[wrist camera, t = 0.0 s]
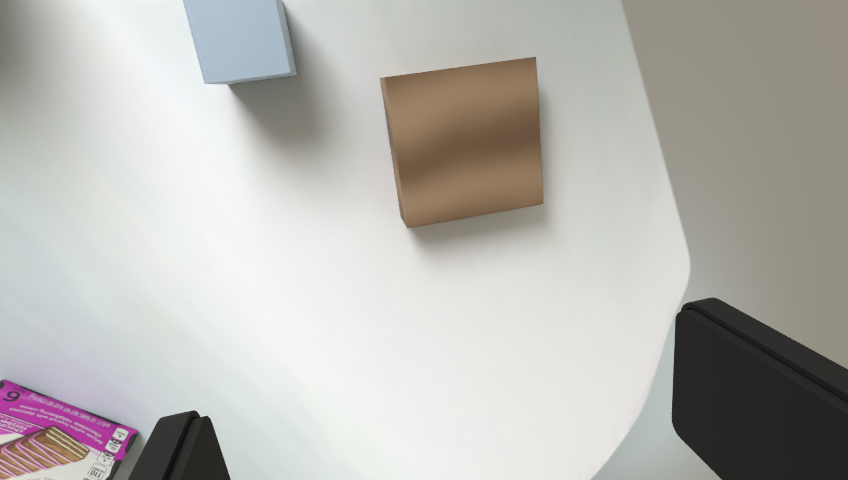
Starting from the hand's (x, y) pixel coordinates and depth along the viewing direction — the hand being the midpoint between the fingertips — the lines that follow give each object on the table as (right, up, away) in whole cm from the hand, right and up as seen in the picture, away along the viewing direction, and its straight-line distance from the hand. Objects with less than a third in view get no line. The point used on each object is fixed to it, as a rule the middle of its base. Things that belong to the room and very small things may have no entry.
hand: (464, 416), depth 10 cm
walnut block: (+2, +12, +30) cm, 33 cm away
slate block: (-13, +17, +25) cm, 33 cm away
